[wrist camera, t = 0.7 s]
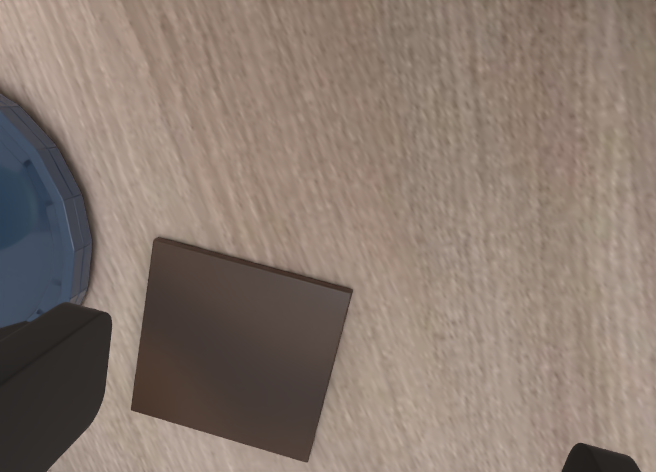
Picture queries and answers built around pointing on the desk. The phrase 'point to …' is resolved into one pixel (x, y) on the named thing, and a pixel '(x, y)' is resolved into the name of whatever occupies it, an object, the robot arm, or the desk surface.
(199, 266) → the coaster
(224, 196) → the desk surface
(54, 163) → the plate
